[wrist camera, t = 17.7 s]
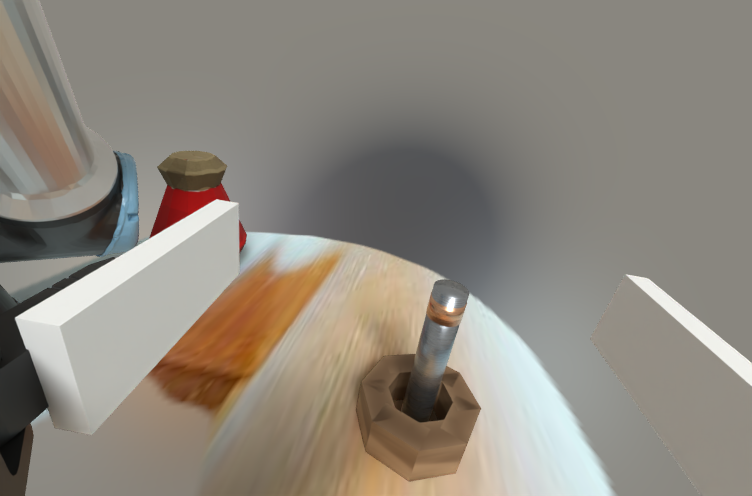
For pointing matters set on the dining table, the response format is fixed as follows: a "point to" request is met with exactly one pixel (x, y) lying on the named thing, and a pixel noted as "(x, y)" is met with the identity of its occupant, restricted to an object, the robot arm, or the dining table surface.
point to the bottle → (190, 188)
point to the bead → (414, 421)
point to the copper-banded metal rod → (434, 348)
